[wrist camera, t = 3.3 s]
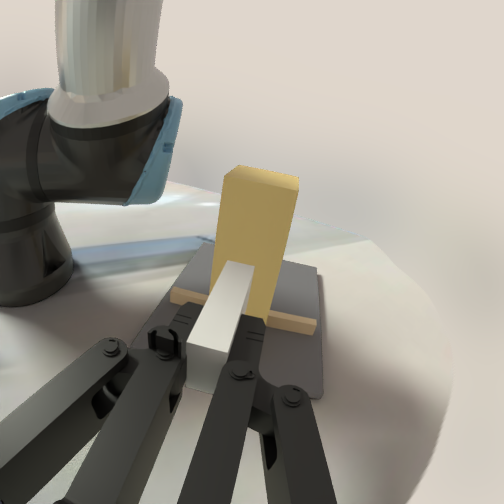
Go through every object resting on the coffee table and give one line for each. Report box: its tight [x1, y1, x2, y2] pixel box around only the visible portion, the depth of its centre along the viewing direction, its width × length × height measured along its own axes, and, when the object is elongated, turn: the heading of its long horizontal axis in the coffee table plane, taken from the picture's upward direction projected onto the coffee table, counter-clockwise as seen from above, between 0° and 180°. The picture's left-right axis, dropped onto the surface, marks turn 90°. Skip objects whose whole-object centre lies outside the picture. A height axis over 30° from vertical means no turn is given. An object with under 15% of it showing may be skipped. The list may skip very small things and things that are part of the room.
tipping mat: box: [130, 242, 323, 399], centre depth 34 cm, size 24×18×2 cm
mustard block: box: [209, 165, 299, 325], centre depth 25 cm, size 5×5×16 cm
